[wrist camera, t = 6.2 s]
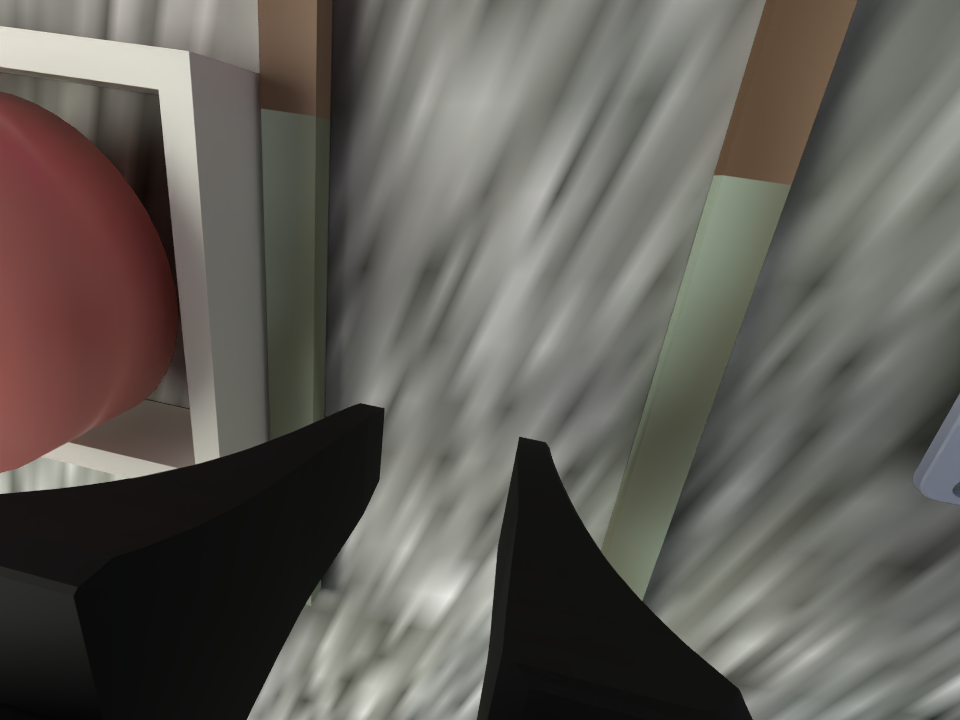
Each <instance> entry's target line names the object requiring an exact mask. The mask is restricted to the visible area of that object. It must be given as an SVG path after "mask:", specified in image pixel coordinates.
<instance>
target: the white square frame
mask: <svg viewBox="0 0 960 720" xmlns="http://www.w3.org/2000/svg"><path fill="white" fill-rule="evenodd" d="M0 72H3V73H10V74H17V75H24V76H31V77H38V78H45V79H52V80H59V81H66V82H72V83H79V84H86V85H93V86H100V87H107V88H114V89H121V90H128V91H135V92H141V93H148V94H155V95H159V99H160V110H161V120H162V130H163V140H164V150H165V160H166V171H167V181H168V191H169V201H170V211H171V221H172V232H173V242H174V252H175V262H176V272H177V282H178V293H179V303H180V313H181V323H182V333H183V343H184V354H185V364H186V374H187V384H188V394H189V404H190V409H186V408H181V407H176V406H172V405H167V404H163V403H158V402H154V401H149V400H143V401H142V402H141V403H139V404H138V405H137V406H135V407H133V408H132V409H130V410H128V411H126V412H124V413H122V414H120V415H118V416H117V417H115V418H113V419H111V420H109V421H107V422H105V423H103V424H101V425H100V426H98V427H96V428H94V429H92V430H90V431H88V432H86V433H84V434H83V435H81V436H79V437H77V438H75V439H73V440H71V441H69V442H68V443H66V444H64V445H62V446H60V447H58V448H56V449H54V450H52V451H51V452H49V453H47V454H45V455H43V456H41V457H45V458H49V459H53V460H57V461H61V462H66V463H70V464H74V465H78V466H82V467H86V468H90V469H94V470H99V471H103V472H107V473H111V474H115V475H119V476H123V477H128V478H135V477H141V476H146V475H150V474H155V473H159V472H164V471H168V470H173V469H177V468H182V467H186V466H191V465H195V464H199V463H203V462H206V461H210V460H213V459H217V458H220V457H224V456H227V455H230V454H234V453H237V452H240V451H243V450H246V449H249V448H252V447H254V446H257V445H260V444H262V443H265V442H267V441H270V409H269V374H268V339H267V304H266V269H265V234H264V199H263V164H262V130H261V95H260V74H257V73H254V72H251V71H248V70H245V69H242V68H239V67H236V66H233V65H230V64H226V63H223V62H220V61H217V60H214V59H211V58H208V57H205V56H202V55H199V54H196V53H193V52H190V51H183V50H176V49H168V48H161V47H153V46H146V45H138V44H131V43H123V42H116V41H108V40H101V39H93V38H86V37H78V36H70V35H63V34H55V33H48V32H40V31H33V30H25V29H18V28H10V27H3V26H0Z"/></svg>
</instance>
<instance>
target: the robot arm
mask: <svg viewBox="0 0 960 720" xmlns="http://www.w3.org/2000/svg"><path fill="white" fill-rule="evenodd" d="M384 410H385V408H380V407H375V406H371V405H366V404H361V403H360V404H357V405H354V406H351V407H349V408H346V409H344V410H342V411H339V412H337V413H335V414H332V415H330V416H328V417H326V418H323V419H321V420H319V421H317V422H314V423H312V424H310V425H307V426H305V427H303V428H300V429H298V430H296V431H293V432H291V433H288V434H286V435H283V436H280V437H278V438H275V439H273V440H270V441H267V442H265V443H262V444H260V445H257V446H254V447H252V448H249V449H246V450H243V451H240V452H237V453H234V454H230V455H227V456H224V457H220V458H217V459H213V460H210V461H206V462H203V463H199V464H195V465H191V466H186V467H182V468H177V469H173V470H168V471H164V472H159V473H155V474H150V475H146V476H141V477H135V478H129V479H124V480H118V481H112V482H105V483H98V484H91V485H84V486H77V487H69V488H61V489H51V490H40V491H29V492H18V493H7V494H0V720H247V718H248V716H249V714H250V712H251V709H252V707H253V705H254V703H255V701H256V699H257V697H258V695H259V693H260V691H261V689H262V687H263V685H264V683H265V681H266V679H267V677H268V675H269V673H270V671H271V669H272V667H273V665H274V663H275V661H276V659H277V657H278V655H279V653H280V651H281V649H282V647H283V645H284V643H285V641H286V640H287V638H288V636H289V634H290V632H291V630H292V628H293V626H294V624H295V622H296V620H297V618H298V616H299V615H300V613H301V611H302V609H303V608H304V606H305V604H306V603H307V601H308V599H309V598H310V596H311V594H312V593H313V591H314V590H315V588H316V586H317V585H318V583H319V582H320V580H321V579H322V577H323V576H324V574H325V573H326V571H327V570H328V568H329V567H330V565H331V564H332V562H333V560H334V559H335V557H336V556H337V554H338V553H339V551H340V550H341V548H342V547H343V545H344V544H345V542H346V541H347V539H348V538H349V536H350V534H351V533H352V531H353V530H354V528H355V527H356V525H357V524H358V522H359V520H360V519H361V517H362V516H363V514H364V512H365V510H366V508H367V506H368V503H369V501H370V499H371V497H372V495H373V493H374V491H375V488H376V486H377V484H378V482H379V479H380V465H381V451H382V437H383V423H384ZM912 480H913V484H914V486H915V487H916V488H917V489H918V490H919V491H920V492H921V493H922V494H923V495H924V496H926V497H927V498H930V499H933V500H937V501H942V502H947V503H951V504H956V505H960V487H958V488H956V489H953V487H954V486H955V485H956V484H957V483H959V482H960V394H959V396H958V397H957V399H956V401H955V403H954V404H953V406H952V408H951V410H950V411H949V413H948V415H947V417H946V418H945V420H944V422H943V424H942V425H941V427H940V429H939V431H938V433H937V434H936V436H935V438H934V440H933V441H932V443H931V445H930V447H929V448H928V450H927V452H926V454H925V455H924V457H923V459H922V461H921V462H920V464H919V466H918V468H917V469H916V471H915V473H914V476H913V479H912ZM477 720H753V719H752V717H751V715H750V713H749V711H748V708H747V706H746V704H745V702H744V699H743V697H742V694H741V692H740V690H739V689H738V688H737V687H736V686H735V685H733V684H732V683H731V682H730V681H729V680H727V679H726V678H725V677H724V676H723V675H722V674H720V673H719V672H718V671H717V670H716V669H714V668H713V667H712V666H711V665H710V664H709V663H707V662H706V661H705V660H704V659H703V658H702V657H700V656H699V655H698V654H697V653H696V652H694V651H693V650H692V649H691V648H690V647H689V646H687V645H686V644H685V643H684V642H683V641H682V640H681V639H680V638H679V637H678V636H677V635H676V634H674V633H673V632H672V631H671V630H670V629H669V628H668V627H667V626H666V625H665V624H664V623H663V622H662V621H661V620H660V619H659V618H658V617H657V616H656V615H655V614H654V613H653V612H652V611H651V610H650V609H649V608H648V607H647V606H646V605H645V604H644V603H643V602H642V600H641V599H640V598H639V597H638V596H637V595H636V594H635V593H634V592H633V590H632V589H631V588H630V587H629V586H628V585H627V583H626V582H625V581H624V580H623V579H622V578H621V577H620V575H619V574H618V573H617V572H616V571H615V569H614V568H613V567H612V566H611V564H610V563H609V562H608V561H607V559H606V558H605V556H604V555H603V553H602V552H601V551H600V549H599V548H598V546H597V545H596V543H595V542H594V540H593V539H592V537H591V536H590V534H589V533H588V531H587V529H586V528H585V526H584V524H583V523H582V521H581V519H580V517H579V516H578V514H577V512H576V510H575V508H574V506H573V505H572V503H571V501H570V499H569V497H568V494H567V492H566V490H565V488H564V486H563V484H562V482H561V479H560V477H559V475H558V472H557V470H556V467H555V465H554V462H553V459H552V456H551V452H550V448H549V447H548V445H547V444H546V442H542V441H537V440H532V439H527V438H523V437H519V442H518V447H517V452H516V457H515V462H514V467H513V472H512V477H511V482H510V488H509V493H508V498H507V503H506V508H505V513H504V518H503V524H502V529H501V534H500V539H499V544H498V552H497V563H496V575H495V586H494V598H493V610H492V622H491V633H490V643H489V651H488V659H487V666H486V671H485V677H484V683H483V688H482V694H481V700H480V705H479V711H478V717H477Z"/></svg>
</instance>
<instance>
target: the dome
mask: <svg viewBox="0 0 960 720" xmlns="http://www.w3.org/2000/svg"><path fill="white" fill-rule="evenodd" d="M177 326H178V313H177V298H176V292H175V286H174V280H173V276H172V272H171V269H170V265H169V262H168V258H167V255H166V253H165V250H164V247H163V245H162V242H161V240H160V237H159V235H158V232H157V231H156V229H155V227H154V225H153V223H152V221H151V219H150V217H149V215H148V213H147V211H146V209H145V208H144V206H143V205H142V203H141V201H140V200H139V198H138V197H137V195H136V194H135V192H134V190H133V189H132V187H131V186H130V185H129V184H128V182H127V181H126V180H125V178H124V177H123V176H122V175H121V173H120V172H119V171H118V169H117V168H116V167H115V166H114V165H113V164H112V163H111V162H110V160H109V159H108V158H107V157H106V156H105V155H104V154H103V153H102V152H101V151H100V150H99V149H98V148H97V147H96V146H95V145H94V144H93V143H92V142H90V141H89V140H88V139H87V138H86V137H85V136H84V135H82V134H81V133H80V132H79V131H78V130H77V129H75V128H74V127H72V126H71V125H70V124H68V123H67V122H65V121H64V120H62V119H61V118H59V117H58V116H57V115H55V114H53V113H51V112H50V111H48V110H46V109H44V108H42V107H40V106H39V105H37V104H35V103H33V102H30V101H28V100H25V99H22V98H20V97H17V96H15V95H12V94H8V93H4V92H0V473H1V472H5V471H9V470H13V469H17V468H19V467H21V466H23V465H25V464H27V463H30V462H32V461H34V460H35V459H37V458H39V457H41V456H43V455H45V454H47V453H49V452H51V451H52V450H54V449H56V448H58V447H60V446H62V445H64V444H66V443H68V442H69V441H71V440H73V439H75V438H77V437H79V436H81V435H83V434H84V433H86V432H88V431H90V430H92V429H94V428H96V427H98V426H100V425H101V424H103V423H105V422H107V421H109V420H111V419H113V418H115V417H117V416H118V415H120V414H122V413H124V412H126V411H128V410H130V409H132V408H133V407H135V406H137V405H138V404H139V403H141V402H142V401H143V400H145V399H146V398H147V397H148V396H149V395H150V394H151V393H152V392H153V391H154V390H155V389H156V388H157V386H158V385H159V383H160V382H161V380H162V379H163V377H164V376H165V374H166V372H167V369H168V367H169V364H170V362H171V360H172V356H173V352H174V348H175V344H176V337H177Z"/></svg>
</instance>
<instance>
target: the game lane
mask: <svg viewBox="0 0 960 720" xmlns="http://www.w3.org/2000/svg"><path fill="white" fill-rule="evenodd" d="M857 1H858V0H766V3H765V6H764V10H763V13H762V16H761V20H760V23H759V26H758V30H757V33H756V36H755V40H754V43H753V46H752V50H751V53H750V56H749V60H748V63H747V67H746V70H745V73H744V77H743V80H742V83H741V87H740V90H739V93H738V97H737V100H736V103H735V107H734V110H733V113H732V117H731V120H730V123H729V127H728V130H727V133H726V137H725V140H724V143H723V147H722V150H721V153H720V157H719V160H718V163H717V167H716V170H715V173H714V177H713V180H712V183H711V187H710V190H709V193H708V197H707V200H706V203H705V207H704V210H703V213H702V217H701V220H700V223H699V227H698V230H697V233H696V237H695V240H694V243H693V247H692V250H691V253H690V257H689V260H688V263H687V267H686V270H685V273H684V277H683V280H682V283H681V287H680V290H679V293H678V297H677V300H676V303H675V307H674V310H673V313H672V317H671V320H670V323H669V327H668V330H667V333H666V337H665V340H664V343H663V347H662V350H661V353H660V357H659V360H658V363H657V367H656V370H655V373H654V377H653V380H652V383H651V387H650V390H649V393H648V397H647V400H646V403H645V407H644V410H643V413H642V417H641V420H640V423H639V427H638V430H637V433H636V437H635V440H634V444H633V447H632V450H631V454H630V457H629V460H628V464H627V467H626V470H625V474H624V477H623V480H622V484H621V487H620V490H619V494H618V497H617V500H616V504H615V507H614V510H613V514H612V517H611V520H610V524H609V527H608V530H607V534H606V537H605V540H604V544H603V547H602V550H601V552H602V553H603V555H604V556H605V558H606V559H607V561H608V562H609V563H610V564H611V566H612V567H613V568H614V569H615V571H616V572H617V573H618V574H619V575H620V577H621V578H622V579H623V580H624V581H625V582H626V583H627V585H628V586H629V587H630V588H631V589H632V590H633V592H634V593H635V594H636V595H637V596H638V597H639V598H640V599H641V600H643V598H644V595H645V592H646V589H647V586H648V584H649V581H650V578H651V575H652V572H653V570H654V567H655V564H656V561H657V559H658V556H659V553H660V550H661V547H662V545H663V542H664V539H665V536H666V533H667V531H668V528H669V525H670V522H671V520H672V517H673V514H674V511H675V508H676V506H677V503H678V500H679V497H680V494H681V492H682V489H683V486H684V483H685V480H686V478H687V475H688V472H689V469H690V467H691V464H692V461H693V458H694V455H695V453H696V450H697V447H698V444H699V441H700V439H701V436H702V433H703V430H704V428H705V425H706V422H707V419H708V416H709V414H710V411H711V408H712V405H713V402H714V400H715V397H716V394H717V391H718V389H719V386H720V383H721V380H722V377H723V375H724V372H725V369H726V366H727V363H728V361H729V358H730V355H731V352H732V349H733V347H734V344H735V341H736V338H737V336H738V333H739V330H740V327H741V324H742V322H743V319H744V316H745V313H746V310H747V308H748V305H749V302H750V299H751V297H752V294H753V291H754V288H755V285H756V283H757V280H758V277H759V274H760V271H761V269H762V266H763V263H764V260H765V258H766V255H767V252H768V249H769V246H770V244H771V241H772V238H773V235H774V232H775V230H776V227H777V224H778V221H779V218H780V216H781V213H782V210H783V207H784V205H785V202H786V199H787V196H788V193H789V191H790V188H791V185H792V182H793V179H794V177H795V174H796V171H797V168H798V166H799V163H800V160H801V157H802V154H803V152H804V149H805V146H806V143H807V140H808V138H809V135H810V132H811V129H812V127H813V124H814V121H815V118H816V115H817V113H818V110H819V107H820V104H821V101H822V99H823V96H824V93H825V90H826V87H827V85H828V82H829V79H830V76H831V74H832V71H833V68H834V65H835V62H836V60H837V57H838V54H839V51H840V48H841V46H842V43H843V40H844V37H845V35H846V32H847V29H848V26H849V23H850V21H851V18H852V15H853V12H854V9H855V7H856V4H857ZM332 6H333V0H258V25H259V60H260V95H261V130H262V164H263V199H264V234H265V269H266V304H267V339H268V374H269V409H270V440H273V439H275V438H278V437H280V436H283V435H286V434H288V433H291V432H293V431H296V430H298V429H300V428H303V427H305V426H307V425H310V424H312V423H314V422H317V421H319V420H321V419H323V418H324V412H325V362H326V311H327V260H328V209H329V158H330V108H331V57H332ZM320 590H321V580H320V582H319V583H318V585H317V586H316V588H315V590H314V591H313V593H312V594H311V596H310V598H309V599H308V601H307V603H306V604H307V605H310V606H311V605H312V603H313V602H314V600H315V598H316V597H317V595H318V593H319V592H320Z"/></svg>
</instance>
